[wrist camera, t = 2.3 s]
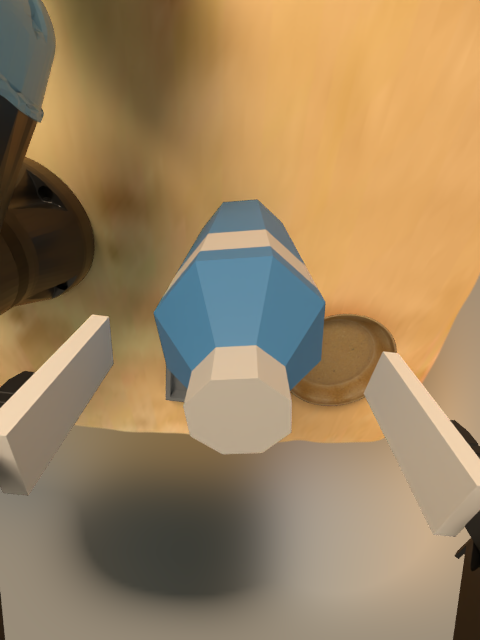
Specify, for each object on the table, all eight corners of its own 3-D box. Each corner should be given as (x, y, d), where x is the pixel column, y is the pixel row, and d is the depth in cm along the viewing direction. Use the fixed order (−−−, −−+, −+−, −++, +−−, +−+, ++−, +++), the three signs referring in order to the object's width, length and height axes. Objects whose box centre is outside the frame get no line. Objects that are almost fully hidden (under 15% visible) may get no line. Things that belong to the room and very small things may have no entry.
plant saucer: (357, 282, 35) (365, 291, 33) (405, 361, 41) (415, 374, 38) (257, 343, 39) (257, 355, 37) (312, 407, 45) (316, 420, 43)
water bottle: (298, 260, 33) (396, 457, 12) (226, 293, 36) (195, 512, 14) (263, 179, 29) (317, 250, 8) (185, 223, 32) (50, 373, 10)
